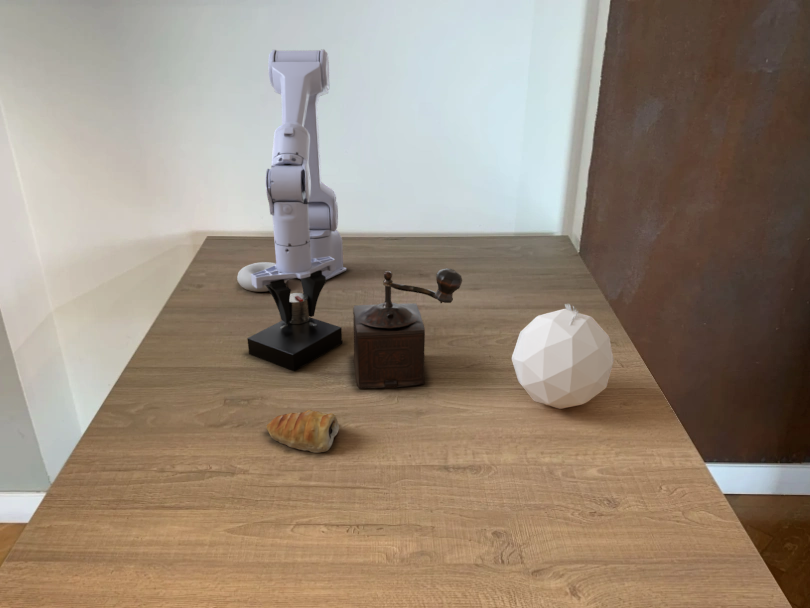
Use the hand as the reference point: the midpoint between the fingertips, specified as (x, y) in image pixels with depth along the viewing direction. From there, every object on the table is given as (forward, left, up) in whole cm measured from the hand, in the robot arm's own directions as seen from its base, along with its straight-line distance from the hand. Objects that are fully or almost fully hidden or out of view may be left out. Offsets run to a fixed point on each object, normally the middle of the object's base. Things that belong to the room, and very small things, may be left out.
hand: (297, 317), depth 126 cm
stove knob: (0, 0, 0) cm, 0 cm away
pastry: (+23, +22, -4) cm, 32 cm away
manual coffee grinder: (0, +22, -4) cm, 22 cm away
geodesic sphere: (-6, +45, -4) cm, 46 cm away
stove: (+3, +2, -3) cm, 5 cm away
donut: (-13, -21, -4) cm, 25 cm away
